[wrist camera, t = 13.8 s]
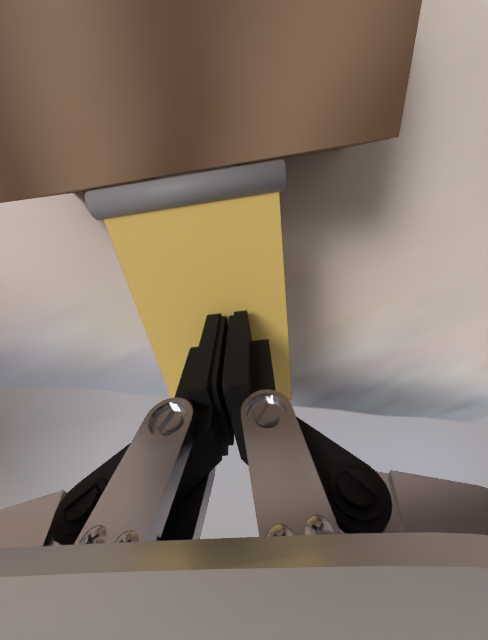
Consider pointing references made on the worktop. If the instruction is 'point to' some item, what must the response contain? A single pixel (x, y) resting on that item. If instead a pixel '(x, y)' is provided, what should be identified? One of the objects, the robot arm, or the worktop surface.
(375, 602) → the robot arm
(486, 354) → the worktop surface
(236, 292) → the yellow grey-edged tile
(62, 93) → the block
